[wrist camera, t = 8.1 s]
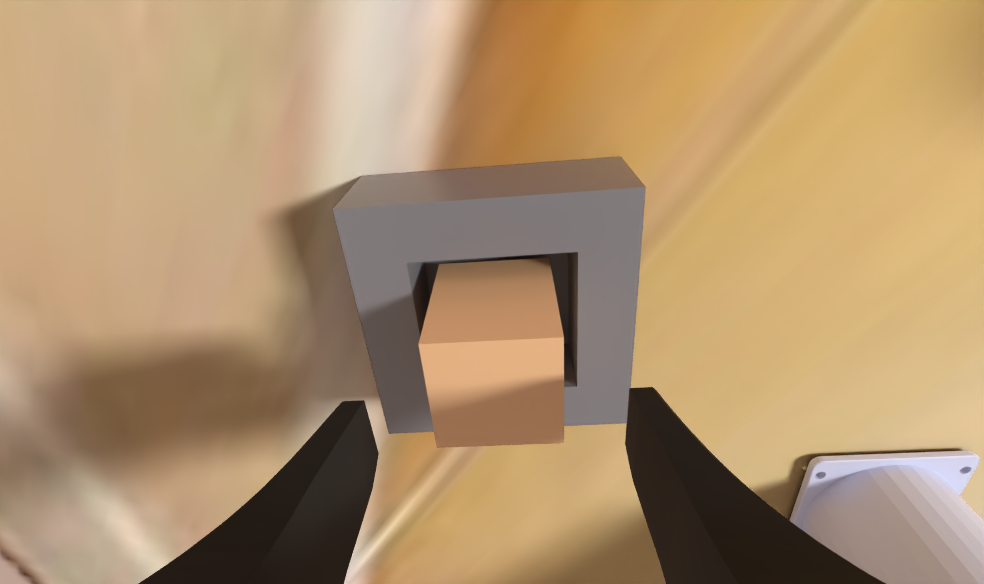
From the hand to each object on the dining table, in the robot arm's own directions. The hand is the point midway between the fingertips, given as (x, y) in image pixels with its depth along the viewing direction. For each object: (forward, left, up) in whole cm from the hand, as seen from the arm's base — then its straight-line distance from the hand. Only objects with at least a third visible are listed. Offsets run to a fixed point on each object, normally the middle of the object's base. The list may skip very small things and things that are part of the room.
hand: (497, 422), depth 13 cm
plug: (0, 0, -7) cm, 7 cm away
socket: (0, 0, -8) cm, 8 cm away
